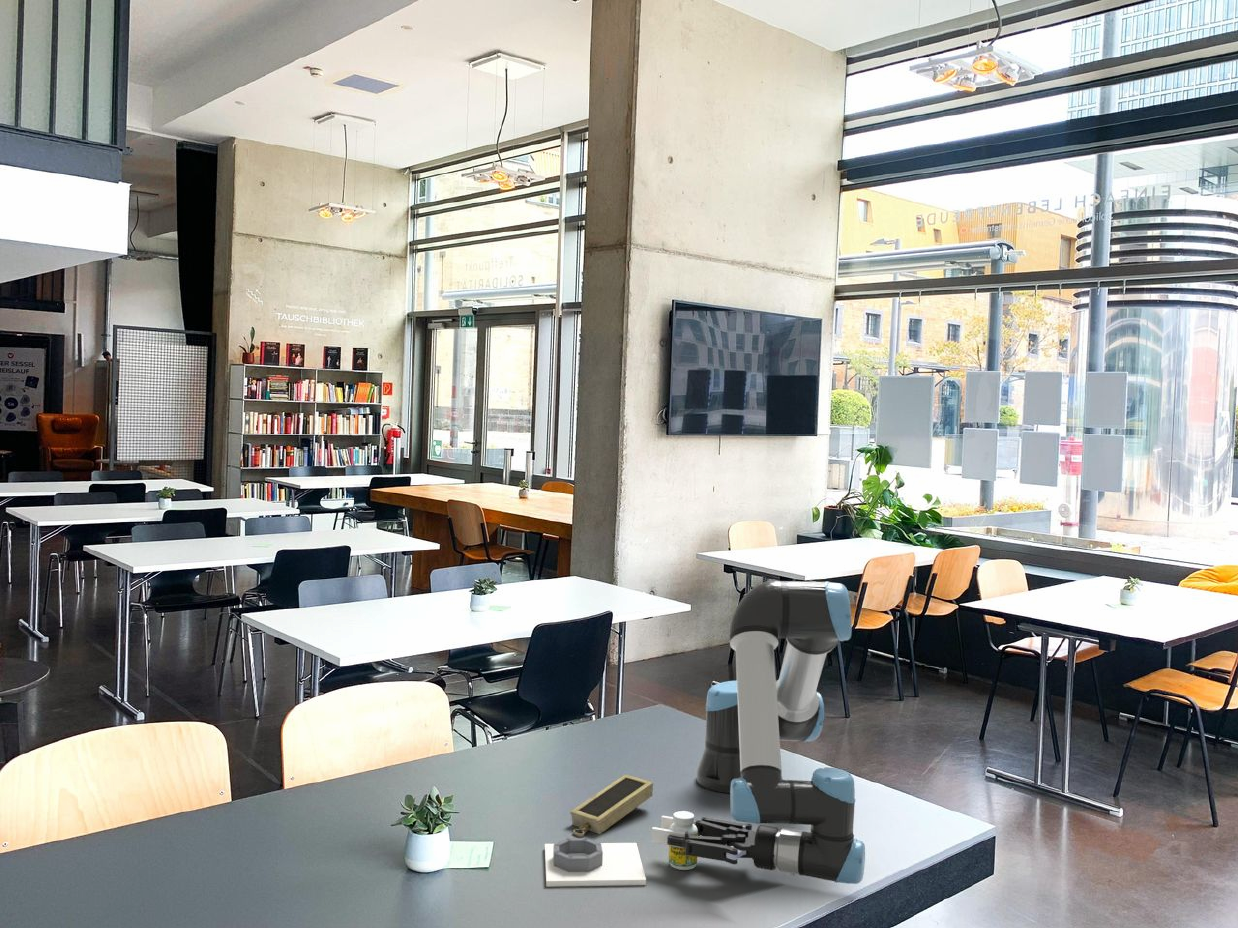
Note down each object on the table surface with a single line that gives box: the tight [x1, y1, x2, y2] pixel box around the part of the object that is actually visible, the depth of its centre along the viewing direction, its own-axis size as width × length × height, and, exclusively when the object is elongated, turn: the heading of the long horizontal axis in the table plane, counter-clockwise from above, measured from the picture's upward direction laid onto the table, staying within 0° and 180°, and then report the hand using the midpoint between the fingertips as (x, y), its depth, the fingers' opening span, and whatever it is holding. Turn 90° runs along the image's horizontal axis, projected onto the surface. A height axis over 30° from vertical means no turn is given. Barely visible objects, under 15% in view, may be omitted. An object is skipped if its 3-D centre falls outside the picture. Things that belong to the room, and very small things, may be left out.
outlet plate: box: [544, 837, 647, 888], centre depth 185 cm, size 18×16×4 cm
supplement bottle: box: [668, 810, 698, 871], centre depth 187 cm, size 5×5×10 cm
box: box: [569, 774, 654, 838], centre depth 208 cm, size 8×22×5 cm, turn 142°
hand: (657, 828), depth 188 cm, fingers closed on supplement bottle, 5 cm apart
